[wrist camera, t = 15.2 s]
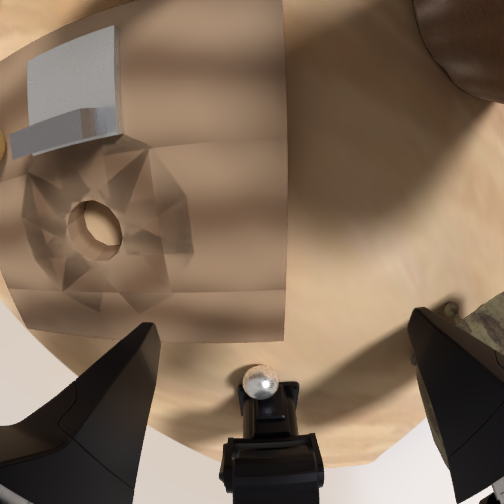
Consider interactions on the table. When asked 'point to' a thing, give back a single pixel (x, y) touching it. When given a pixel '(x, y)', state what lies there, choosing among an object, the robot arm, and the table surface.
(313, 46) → the table surface
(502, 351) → the tabletop clock
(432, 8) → the plant pot
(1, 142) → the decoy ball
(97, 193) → the wooden cutting board
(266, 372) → the ball
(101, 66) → the cover
